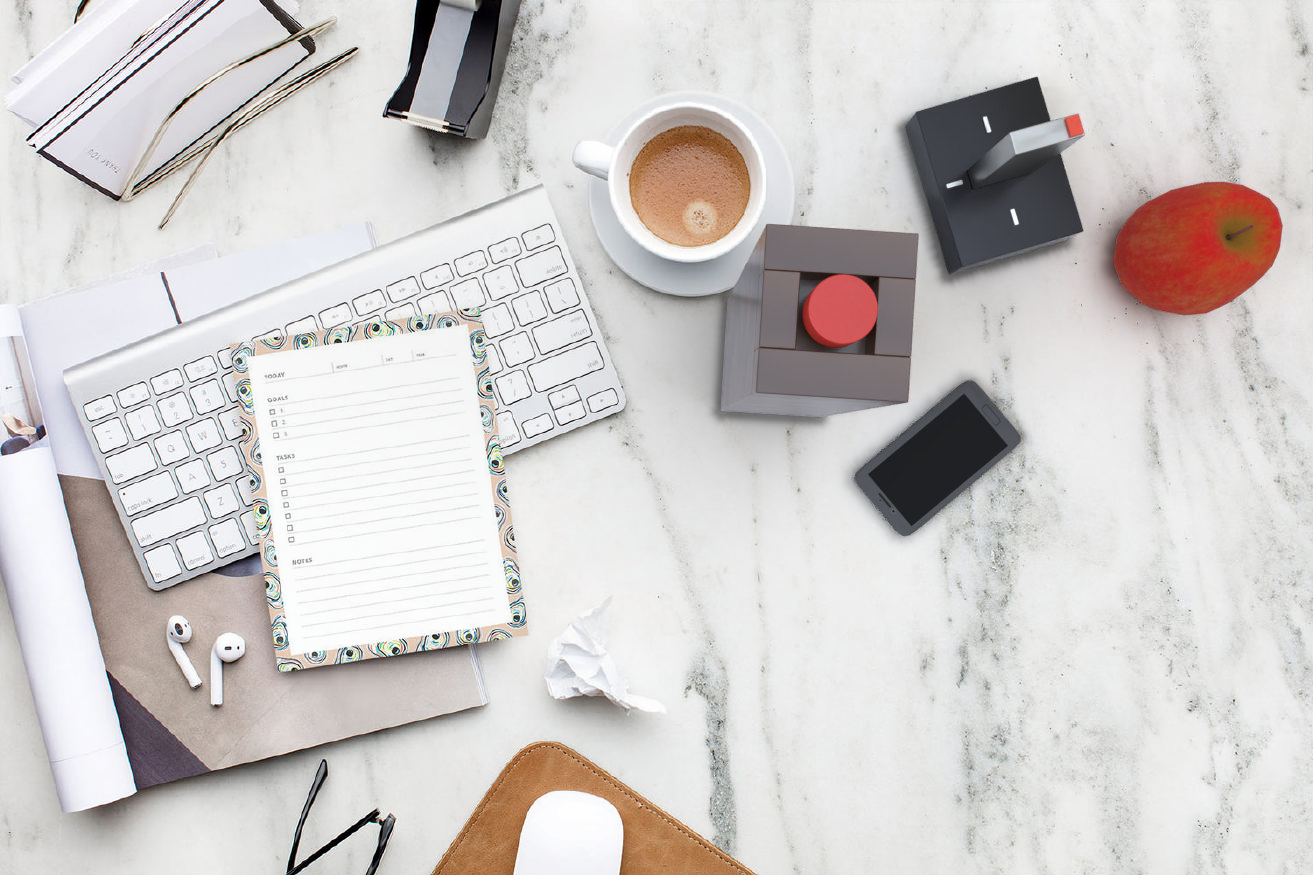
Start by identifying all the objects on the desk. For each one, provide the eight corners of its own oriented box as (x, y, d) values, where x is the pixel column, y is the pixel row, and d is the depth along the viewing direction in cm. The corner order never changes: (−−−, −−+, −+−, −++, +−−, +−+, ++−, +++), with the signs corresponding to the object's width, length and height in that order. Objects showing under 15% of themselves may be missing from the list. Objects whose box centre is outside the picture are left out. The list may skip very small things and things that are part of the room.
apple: (1190, 339, 70) (1286, 321, 59) (1079, 291, 70) (1156, 264, 59) (1237, 230, 70) (1342, 191, 59) (1126, 182, 70) (1212, 134, 59)
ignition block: (727, 299, 70) (766, 223, 46) (827, 306, 70) (919, 233, 46) (720, 410, 70) (755, 393, 46) (820, 417, 70) (908, 402, 46)
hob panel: (904, 125, 70) (916, 110, 67) (1021, 91, 70) (1038, 75, 67) (948, 274, 70) (962, 266, 67) (1065, 240, 70) (1085, 230, 67)
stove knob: (972, 189, 67) (1017, 153, 59) (966, 169, 67) (1011, 130, 59) (1033, 172, 67) (1087, 134, 59) (1028, 152, 67) (1080, 111, 59)
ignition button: (804, 278, 46) (810, 271, 44) (871, 282, 46) (880, 276, 44) (800, 345, 46) (806, 341, 44) (867, 349, 46) (876, 346, 44)
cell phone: (1021, 439, 69) (1025, 439, 69) (902, 539, 69) (905, 540, 69) (968, 377, 70) (972, 376, 69) (850, 476, 69) (852, 476, 69)
